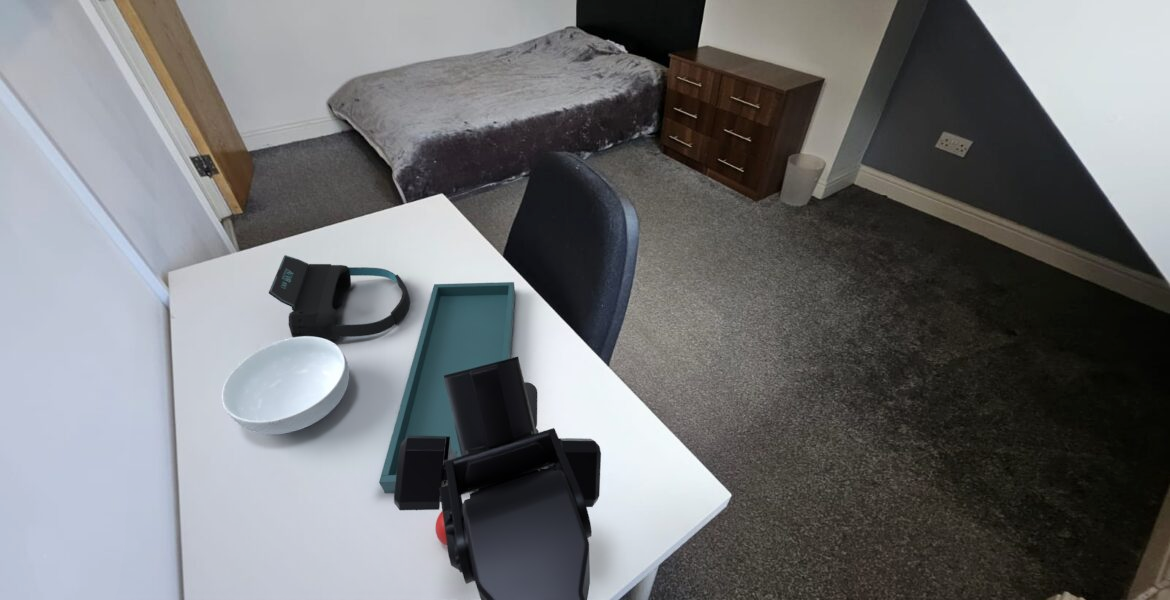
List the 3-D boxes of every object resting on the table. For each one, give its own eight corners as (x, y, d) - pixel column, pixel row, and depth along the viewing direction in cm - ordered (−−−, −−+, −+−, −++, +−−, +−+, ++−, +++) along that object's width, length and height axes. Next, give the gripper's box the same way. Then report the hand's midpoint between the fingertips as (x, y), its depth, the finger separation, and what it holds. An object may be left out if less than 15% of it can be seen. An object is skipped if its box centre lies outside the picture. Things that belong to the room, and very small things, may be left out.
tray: (501, 487, 66) (498, 476, 64) (384, 493, 65) (378, 482, 63) (515, 293, 97) (514, 281, 95) (436, 295, 96) (434, 284, 94)
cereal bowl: (218, 446, 70) (193, 418, 65) (278, 361, 82) (260, 333, 78) (331, 452, 69) (313, 424, 65) (374, 366, 82) (362, 337, 77)
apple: (476, 552, 59) (469, 533, 56) (436, 554, 59) (427, 535, 55) (480, 512, 63) (474, 492, 59) (442, 515, 63) (434, 494, 59)
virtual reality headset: (298, 284, 96) (288, 243, 90) (412, 284, 103) (409, 245, 96) (276, 349, 83) (261, 306, 76) (408, 344, 89) (404, 303, 83)
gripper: (623, 392, 41) (581, 387, 56) (397, 383, 37) (417, 380, 52) (618, 527, 39) (576, 485, 54) (380, 534, 35) (406, 486, 50)
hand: (497, 456), depth 53 cm, fingers open, 9 cm apart
